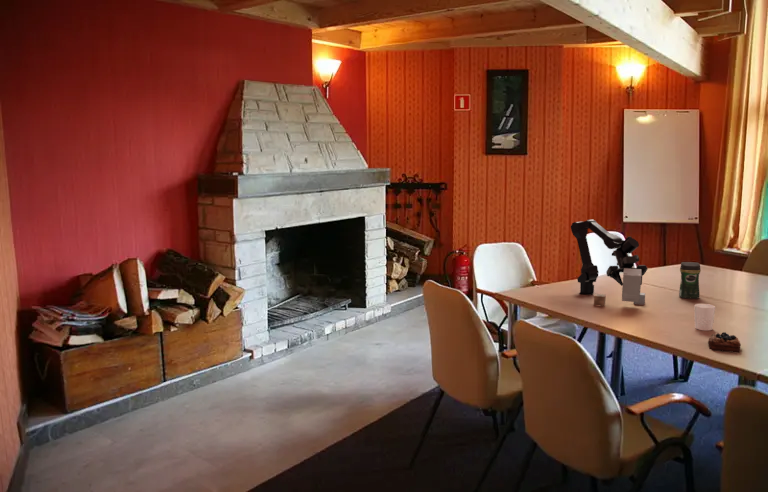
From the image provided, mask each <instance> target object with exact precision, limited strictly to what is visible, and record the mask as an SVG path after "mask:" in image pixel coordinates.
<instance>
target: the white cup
mask: <svg viewBox="0 0 768 492" xmlns="http://www.w3.org/2000/svg"><path fill="white" fill-rule="evenodd" d="M715 313H716V306H715V305H713V304H709V303H695V304H694V316H693V317H694V328H695V329H696V330H700V331H708V332H709V331H712V330H713V329H714V328H713V327H714V320H715Z"/></svg>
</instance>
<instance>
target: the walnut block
mask: <svg viewBox="0 0 768 492" xmlns="http://www.w3.org/2000/svg"><path fill="white" fill-rule="evenodd" d="M594 305H601V306H600V307H605V306H606V294H603V293H602V294H601V293H600V294H599V293H595V294H593V306H594Z"/></svg>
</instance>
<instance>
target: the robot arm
mask: <svg viewBox="0 0 768 492" xmlns="http://www.w3.org/2000/svg"><path fill="white" fill-rule="evenodd" d="M570 230H571V233H572V235H573V236H574V238H576V241H577V246H578V249H579V250H578V251H579V255H580V259H581V262H582V263H581V264H582V265H581V269H580V273H581V274H580V275H579V276H578V277H577V283H579V284H580V288H579V289H580V290H579V294H580V293H581V294H580V295H588V294H591V295H590V296H592V295H594V293H595V284H594V283H596V282H597V279H598V277H599V273H600V272H599V268H598V265H596V264H595V265H594V263H593V261H592V260H593V259H592V256H591V253H590V252H591V251H590V247H589V244H588V239H587V236H588V232H589V230H590V231H591V232H592V233H594V234H595V235H596V236H598V237H599V238H600V239H601V240H602V241H603V244H604V246H606V248H607V249H609V250H613V251H612V253H611V256H612V257H615V258H616V261H617V262H616V265H609V266H608V268H607V270H606V275H607V277H609V278H611V279H613V280H614V281H616V282H617V283H618V284H619V285H620V286H621V287H623V279H622V278H621V273H623V272H624V268H629V269H641V270H642V276H641V286H642V284H643V276H644V275H645V274H646V273H647V271H648V266H647V265H645V264H638V265H636V267H634V266H635V263H636V264H637V263H638V262H640V257H639V254H634V255H631V256H630V255H629V254H632V253H633V252H634V251H635V250H636V249H637V248H639V246H640V243H639V241H638V240H637V239H635V238H633V237H632V236H627V237H626V239H625V240H624V239H622V238H621V237H620V236H618V235H616V234H613V233H610V232H609V231H608V230H606V229H605V228H604V227H603V226H601V225H600V224H599V223H598V222H597V221H596V219H595V220H594V219H587V220H584V221H576V222H575V221H573V222H572V223H571V224H570Z"/></svg>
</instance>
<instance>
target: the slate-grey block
mask: <svg viewBox="0 0 768 492" xmlns="http://www.w3.org/2000/svg"><path fill="white" fill-rule="evenodd" d="M645 303H646V293H645V292H640V301H639V302H633V305H640V306H641V305H645Z"/></svg>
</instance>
